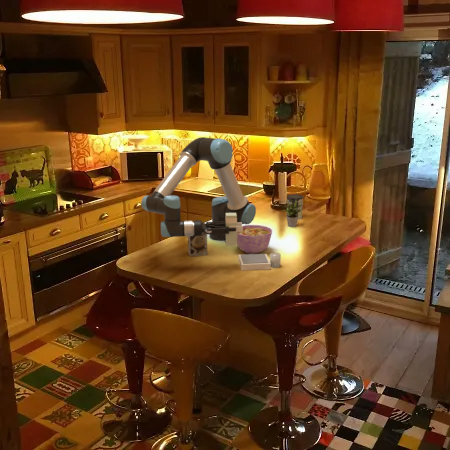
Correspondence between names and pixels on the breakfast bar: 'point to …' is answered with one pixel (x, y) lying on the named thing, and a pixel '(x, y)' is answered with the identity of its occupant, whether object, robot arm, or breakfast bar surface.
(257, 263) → the podium
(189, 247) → the coffee box
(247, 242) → the bowl of food
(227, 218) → the slim carton
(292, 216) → the house plant
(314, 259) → the breakfast bar surface
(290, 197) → the coffee can
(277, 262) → the white rounded capsule
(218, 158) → the robot arm
